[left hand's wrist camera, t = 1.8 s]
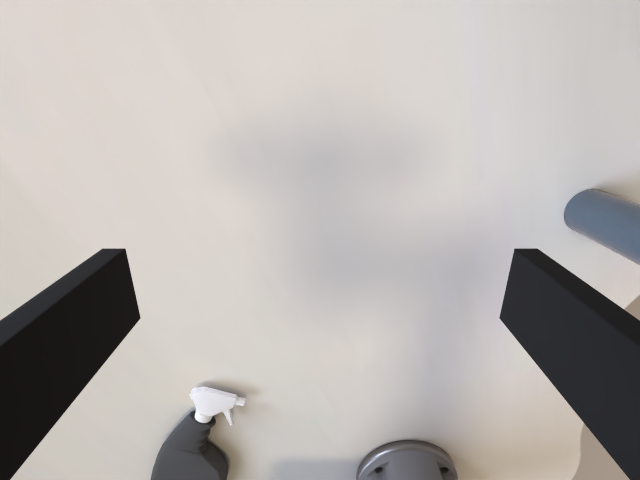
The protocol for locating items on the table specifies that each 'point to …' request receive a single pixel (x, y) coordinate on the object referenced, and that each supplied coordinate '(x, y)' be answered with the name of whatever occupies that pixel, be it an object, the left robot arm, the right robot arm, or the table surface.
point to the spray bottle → (196, 440)
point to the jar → (606, 221)
